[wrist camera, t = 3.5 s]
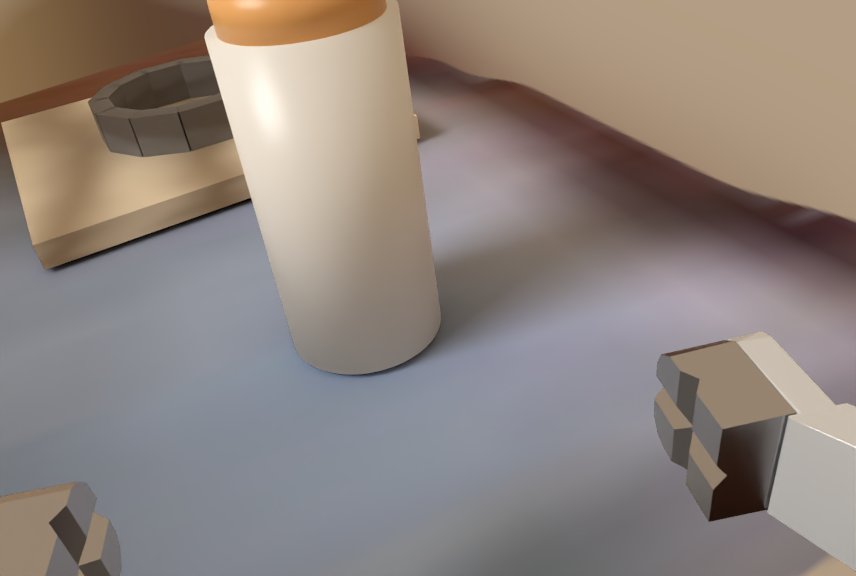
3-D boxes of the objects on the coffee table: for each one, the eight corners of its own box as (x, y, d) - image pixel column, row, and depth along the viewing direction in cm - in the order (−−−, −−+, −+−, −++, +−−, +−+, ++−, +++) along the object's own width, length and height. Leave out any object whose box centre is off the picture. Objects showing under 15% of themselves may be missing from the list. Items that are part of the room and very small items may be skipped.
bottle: (329, 397, 22) (225, 9, 15) (271, 317, 25) (167, -23, 19) (470, 330, 24) (428, -42, 17) (396, 265, 27) (340, -62, 21)
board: (45, 270, 30) (10, 201, 28) (10, 141, 44) (-15, 89, 42) (420, 138, 37) (411, 75, 35) (289, 61, 50) (278, 13, 48)
